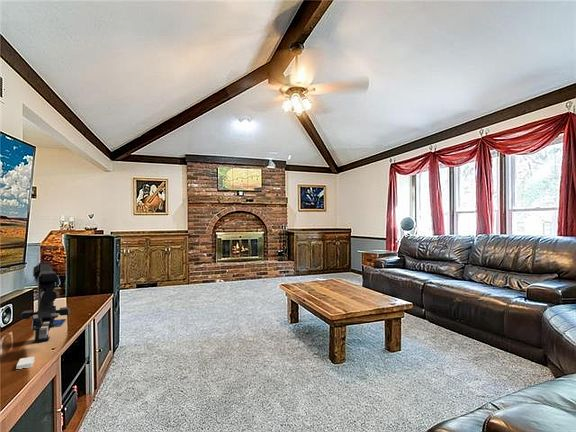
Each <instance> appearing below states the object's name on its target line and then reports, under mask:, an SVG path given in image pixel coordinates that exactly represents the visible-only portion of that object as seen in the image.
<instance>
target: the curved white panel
mask: <svg viewBox="0 0 576 432" xmlns="http://www.w3.org/2000/svg"><path fill="white" fill-rule="evenodd" d="M48 329H49V322H44V323H43V325H42V326H41V328H40V330H39V339H42V338H46V337H47V335H48V336H49V334H48V332H50V330H48Z"/></svg>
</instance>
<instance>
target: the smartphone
mask: <svg viewBox="0 0 576 432" xmlns="http://www.w3.org/2000/svg"><path fill="white" fill-rule="evenodd" d="M66 321H67V318H61V319H54V326H53V327H52V328H61V327H62V326H64V324H65V323H66Z"/></svg>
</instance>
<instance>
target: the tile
mask: <svg viewBox="0 0 576 432" xmlns="http://www.w3.org/2000/svg"><path fill="white" fill-rule="evenodd" d="M33 362H35V356H29V357H22V358H19V360H18V362H17V364H16V368H15V369H22V368H28V369H30V368H29V367H33V365H34V363H33ZM32 364H33V365H32ZM22 370H23V369H22Z"/></svg>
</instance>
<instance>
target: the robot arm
mask: <svg viewBox="0 0 576 432" xmlns="http://www.w3.org/2000/svg"><path fill="white" fill-rule="evenodd" d="M53 269H54V266H53V265H52V264H51V262H49V261H47V262H38V265H36V266H34V267H33V270H32V277H33V278H34V279H33V281H34V282H35V283H36V284H37V311H34V310H33V309H31V310H24V311H23V312H22V313H20V320H29V319H30V318H32V322H31V332H34V339H33V340H32V344H34V343H35V344H36V343H44V342H49V341H50V338H51V336H49V332H50V329H53V328H54V327H53V326H54V320H56V319H57V318H58V317H59V316H61V317H62V316H68V315H70V307H68V306H65V307H60V308H59V309H57V306H56V305H54V304H55V300H56V299H57V296H58V294H57V292H56V291H55V288H59V286H60V278H59V275H58V274H57V273H56V271H53ZM44 322H49V329H48V330H49V332H48V335H47V337H46V338H42V339H39V330H40V328H41V326H42V325H43V323H44Z"/></svg>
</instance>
